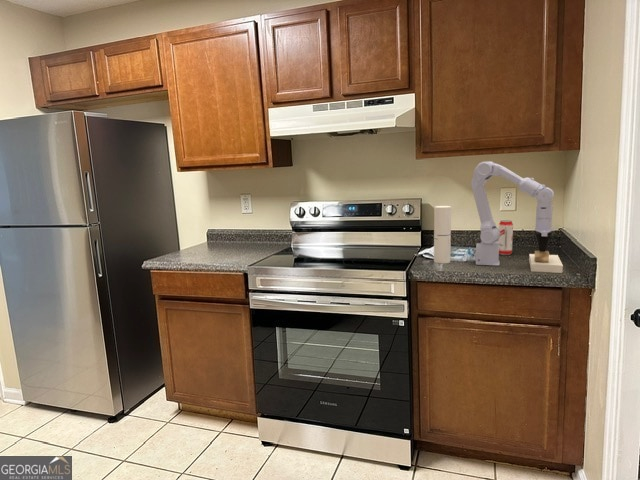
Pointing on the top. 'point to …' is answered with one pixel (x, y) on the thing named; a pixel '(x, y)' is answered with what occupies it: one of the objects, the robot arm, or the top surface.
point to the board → (546, 264)
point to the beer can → (505, 237)
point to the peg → (541, 256)
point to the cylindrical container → (442, 234)
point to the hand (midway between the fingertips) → (542, 251)
